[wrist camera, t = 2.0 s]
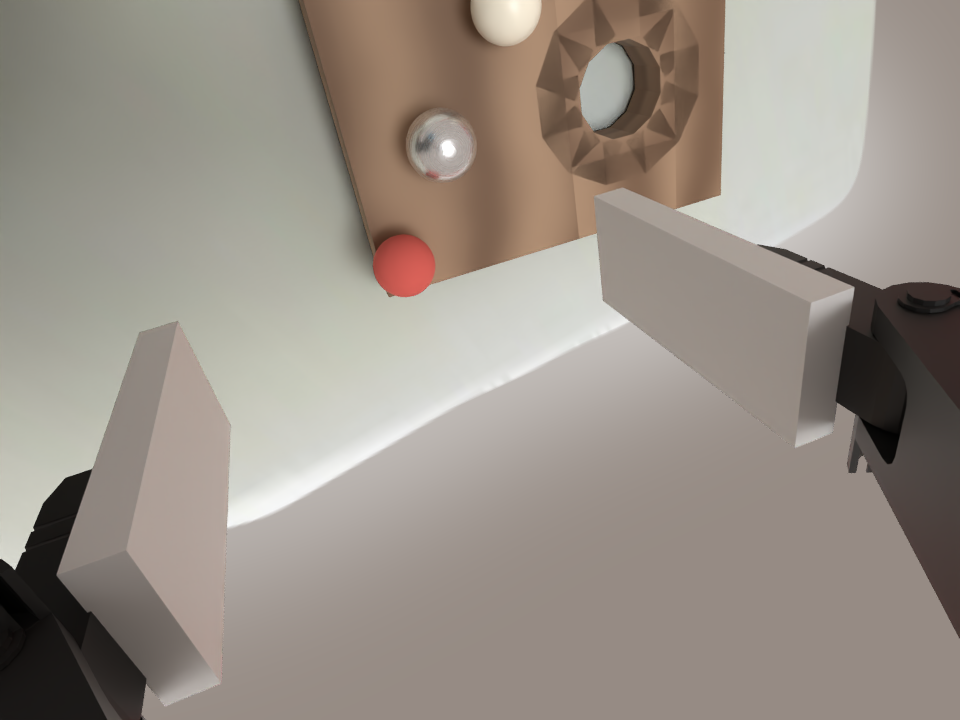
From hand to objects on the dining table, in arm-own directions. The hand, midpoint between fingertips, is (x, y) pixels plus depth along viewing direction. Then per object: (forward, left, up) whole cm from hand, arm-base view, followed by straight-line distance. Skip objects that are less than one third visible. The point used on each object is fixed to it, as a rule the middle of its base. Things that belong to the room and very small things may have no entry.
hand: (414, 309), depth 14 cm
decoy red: (+2, -5, -16) cm, 16 cm away
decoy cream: (+9, +5, -16) cm, 19 cm away
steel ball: (+5, 0, -15) cm, 16 cm away
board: (+11, 0, -20) cm, 22 cm away
